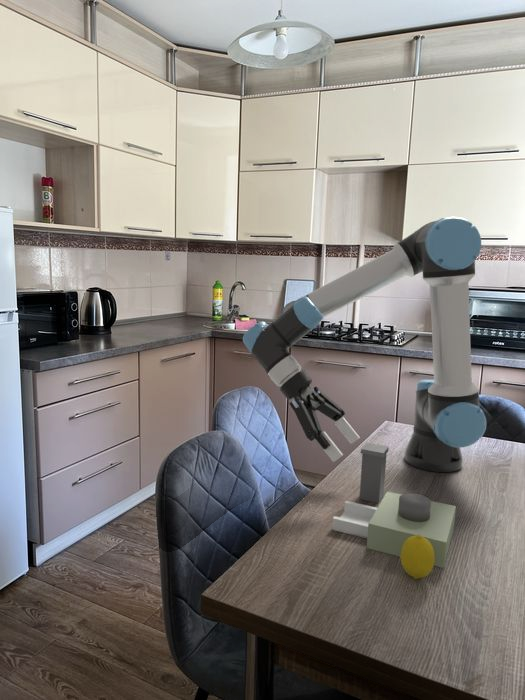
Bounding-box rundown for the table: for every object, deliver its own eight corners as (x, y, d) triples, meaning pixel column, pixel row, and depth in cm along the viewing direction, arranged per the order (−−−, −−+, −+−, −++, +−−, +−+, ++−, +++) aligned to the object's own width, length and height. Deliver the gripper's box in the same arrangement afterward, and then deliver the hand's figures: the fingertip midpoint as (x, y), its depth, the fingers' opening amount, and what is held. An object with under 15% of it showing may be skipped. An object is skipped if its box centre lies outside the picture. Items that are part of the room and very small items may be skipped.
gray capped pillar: (357, 498, 120) (360, 449, 118) (363, 490, 125) (366, 442, 123) (380, 503, 118) (383, 453, 116) (385, 495, 122) (388, 446, 120)
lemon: (434, 590, 87) (438, 545, 85) (399, 585, 88) (403, 541, 86) (430, 571, 92) (434, 529, 91) (398, 567, 93) (401, 525, 92)
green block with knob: (326, 537, 103) (328, 499, 101) (349, 505, 117) (352, 471, 116) (443, 568, 93) (447, 526, 92) (453, 528, 107) (457, 492, 106)
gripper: (299, 378, 138) (351, 442, 134) (257, 398, 116) (317, 476, 112) (319, 361, 135) (372, 426, 131) (280, 378, 113) (342, 457, 109)
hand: (347, 449), depth 122 cm, fingers open, 13 cm apart
